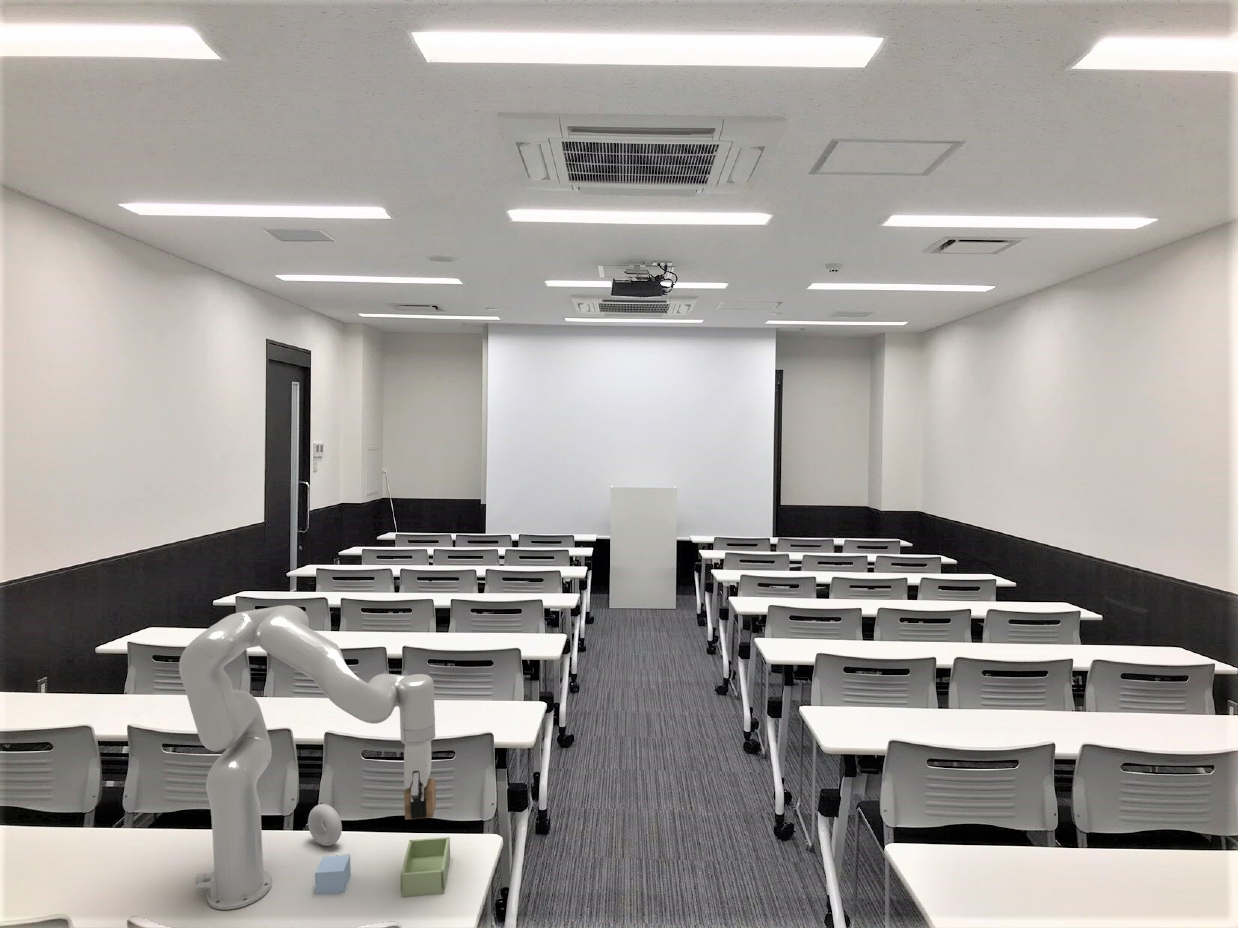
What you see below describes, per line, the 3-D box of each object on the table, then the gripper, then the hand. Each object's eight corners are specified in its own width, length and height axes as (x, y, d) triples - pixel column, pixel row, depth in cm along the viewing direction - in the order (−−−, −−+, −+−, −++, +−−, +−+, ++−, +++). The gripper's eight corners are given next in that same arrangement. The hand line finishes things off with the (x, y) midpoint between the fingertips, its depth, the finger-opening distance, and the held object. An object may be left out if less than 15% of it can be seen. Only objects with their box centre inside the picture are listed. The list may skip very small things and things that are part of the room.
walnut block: (405, 819, 164) (404, 793, 164) (409, 805, 170) (408, 779, 170) (432, 817, 165) (432, 791, 164) (436, 803, 171) (435, 777, 170)
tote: (400, 896, 162) (400, 874, 161) (410, 860, 175) (409, 839, 174) (444, 892, 163) (443, 871, 162) (450, 857, 176) (449, 836, 176)
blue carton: (315, 894, 163) (314, 872, 162) (323, 877, 169) (322, 856, 168) (344, 892, 163) (343, 870, 163) (350, 875, 169) (350, 854, 169)
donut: (305, 842, 182) (304, 803, 181) (317, 835, 185) (315, 796, 184) (334, 853, 177) (332, 813, 177) (345, 846, 181) (344, 806, 180)
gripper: (406, 716, 174) (409, 791, 176) (394, 750, 157) (397, 832, 159) (439, 714, 175) (442, 788, 177) (430, 747, 158) (433, 828, 159)
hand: (420, 808), depth 167 cm, fingers closed on walnut block, 6 cm apart
